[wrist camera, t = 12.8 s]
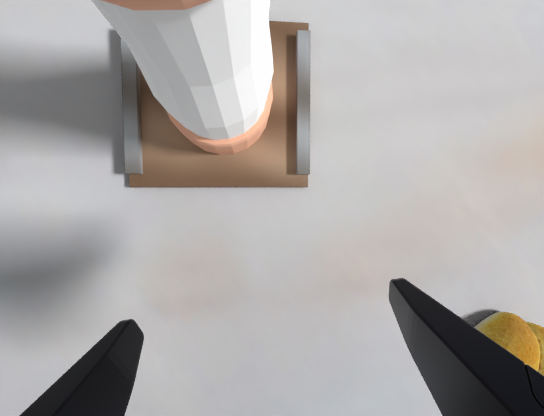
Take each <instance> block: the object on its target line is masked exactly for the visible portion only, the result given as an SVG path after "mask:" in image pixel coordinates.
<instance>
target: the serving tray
mask: <svg viewBox="0 0 544 416" xmlns="http://www.w3.org/2000/svg"><path fill="white" fill-rule="evenodd" d="M269 28H270V37H271V46H272V56H273V70H274V72H273V76H272V91H273V100H272V104H271V108H270V113H269V117H268V121H267V125H266V128H265V130H264V131H263V133H262V134H261V136H260V138H259V139H258V140H257V141H256V142H255V143H254V144H252V145H251V146H250V147H249V148H248V149H245V150H243V151H240V152H238V153H235V154H225V155H219V154H215V153H211V152H207V151H204V150H203V149H201V148H200V147H198V146H196V145H195V144H193V143H192V142H191V141H190V140H189V139H188V138H186V137H185V136H184V135H183V134H182V133H181V132H180V131H179V129H178V128H177V127H176V126H175V125H174V124H173V122H172V121H171V120H170V118H169V116H168V114H167V111H166V109H165V108H164V107H163V106H162V105H161V104H160V103H159V101H158V100H157V99H156V98H155V97H154V96H153V94H152V92H151V90H150V88H149V86H148V84H147V82H146V80H145V78H144V76H143V74H142V72H141V70H140V68H139V66H138V64H137V62H136V60H135V58H134V56H133V54H132V52H131V50H130V48H129V47H128V46H127V44H126V43H125V42H124V41H123V39H122V38H121V65H122V96H123V127H124V158H125V173H126V174H129V180H130V187H308V174H310V31H308V23H295V22H277V21H269Z"/></svg>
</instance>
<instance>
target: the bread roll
mask: <svg viewBox="0 0 544 416" xmlns="http://www.w3.org/2000/svg"><path fill="white" fill-rule="evenodd" d="M474 328H476V329H477V330H479V331H480V332H482V333H483V334H485V335H486V336H487V337H489V338H490V339H492V340H493V341H495V342H496V343H497V344H499V345H500V346H502V347H503V348H505V349H506V350H507V351H509V352H510V353H512V354H513V355H515V356H516V357H518V358H519V359H520V360H522V361H523V362H524V363H525V365H526V364H527V365H529V366H531V367H532V368H533V369H535V370H536V371H538V372H539V373H541V374H542V375H544V328H543V327H541V326H539V325H536V324H533V323H529V322H525V321H524V320H522V319H521V318H520V317H519V316H517V315H515V314H512V313H508V312H497V313H494V314H492V315H490V316H489V317H487V318H485V319H484V320H482V321H481V322H480V323H478V324H477V325H476V326H474Z"/></svg>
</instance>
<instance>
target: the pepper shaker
mask: <svg viewBox="0 0 544 416" xmlns="http://www.w3.org/2000/svg"><path fill="white" fill-rule="evenodd" d="M92 2H93V3H94V4H95V5H96V7H97V8H98V9H99V10H100V12H101V13H102V14H103V15H104V17H105V18H106V19H107V20H108V22H109V23H110V24H111V25H112V27H113V28H114V29H115V31H116V32H117V33H118V34H119V36H120V37H121V38H122V39H123V41H124V42H125V43H126V44H127V46H128V47H129V48H130V50H131V52H132V54H133V56H134V58H135V60H136V62H137V64H138V66H139V68H140V70H141V72H142V74H143V76H144V78H145V80H146V82H147V84H148V86H149V88H150V90H151V92H152V94H153V96H154V97H155V98H156V99H157V100H158V101H159V103H160V104H161V105H162V106H163V107H164V108H165V109H166V111H167V114H168V116H169V118H170V120H171V121H172V122H173V124H174V125H175V126H176V127H177V128H178V129H179V131H180V132H181V133H182V134H183V135H184V136H185V137H186V138H188V139H189V140H190V141H191V142H192V143H193V144H195V145H196V146H198V147H200V148H201V149H203V150H204V151H207V152H211V153H215V154H219V155H225V154H235V153H238V152H240V151H243V150H245V149H248V148H249V147H250V146H251V145H252V144H254V143H255V142H256V141H257V140H258V139H259V138H260V136H261V134H262V133H263V131H264V130H265V128H266V125H267V121H268V117H269V113H270V108H271V104H272V100H273V91H272V76H273V72H274V70H273V56H272V46H271V37H270V28H269V19H268V16H269V6H270V0H92Z"/></svg>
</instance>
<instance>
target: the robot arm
mask: <svg viewBox="0 0 544 416" xmlns="http://www.w3.org/2000/svg"><path fill="white" fill-rule="evenodd" d="M389 301H390V304H391V306H392V309H393V312H394V314H395V317H396V319H397V322H398V324H399V327H400V329H401V332H402V334H403V337H404V340H405V342H406V344H407V347H408V349H409V351H410V353H411V355H412V357H413V359H414V361H415V363H416V365H417V367H418V369H419V371H420V373H421V375H422V377H423V379H424V381H425V383H426V384H427V386H428V388H429V390H430V392H431V394H432V396H433V398H434V400H435V402H436V404H437V406H438V408H439V410H440V411H441V413H442V415H443V416H544V375H542V374H541V373H539V372H538V371H536V370H535V369H533V368H532V367H531V366H529V365H527V364H526V365H525V363H524V362H523V361H522V360H520V359H519V358H518V357H516V356H515V355H513V354H512V353H510V352H509V351H507V350H506V349H505V348H503V347H502V346H500V345H499V344H497V343H496V342H495V341H493V340H492V339H490V338H489V337H487V336H486V335H485V334H483V333H482V332H480V331H479V330H477V329H476V328H474V327H473V326H472V325H470V324H469V323H467V322H466V321H464V320H463V319H462V318H460V317H459V316H457V315H456V314H454V313H453V312H451V311H450V310H449V309H447V308H446V307H444V306H443V305H441V304H440V303H439V302H437V301H436V300H434V299H433V298H431V297H430V296H429V295H427V294H426V293H424V292H423V291H421V290H420V289H418V288H417V287H416V286H414V285H413V284H411V283H410V282H408V281H407V280H406V279H403V278H399V279H392V280H391V281H390V286H389ZM143 340H144V335H143V332H142V331H141V329H140V328H139V326H138V325H137V323H136V322H135V321H134V320H133V319H129V320H123V321H120V322H119V323H118V324H117V325H116V326H115V327H113V328H112V329H111V330H110V331H109V332H108V333H107V334H106V335H105V336H104V337H103V338H102V339H101V340H100V341H99V342H97V343H96V344H95V345H94V346H93V347H92V348H91V349H90V350H89V351H88V352H87V353H86V354H85V355H84V356H83V357H82V358H80V359H79V360H78V361H77V362H76V363H75V364H74V365H73V366H72V367H71V368H70V369H69V370H68V371H67V372H66V373H65V374H63V375H62V376H61V377H60V378H59V379H58V380H57V381H56V382H55V383H54V384H53V385H52V386H51V387H50V388H49V389H48V390H46V391H45V392H44V393H43V394H42V395H41V396H40V397H39V398H38V399H37V400H36V401H35V402H34V403H33V404H32V405H30V406H29V407H28V408H27V409H26V410H25V411H24V412H23V413H22V414H21V415H20V416H124V415H125V412H126V409H127V405H128V402H129V399H130V396H131V393H132V389H133V386H134V381H135V377H136V373H137V368H138V363H139V359H140V354H141V350H142V345H143Z"/></svg>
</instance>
